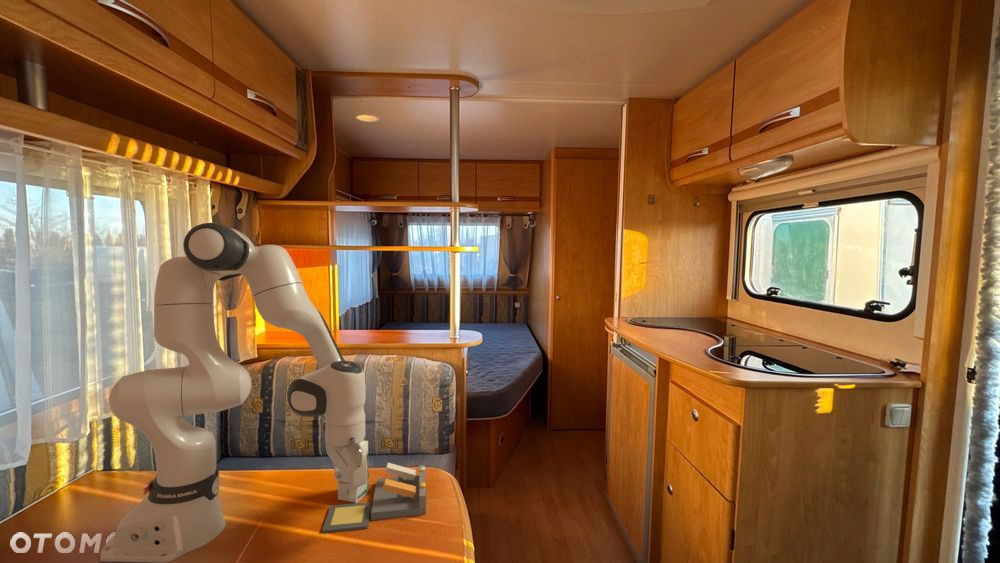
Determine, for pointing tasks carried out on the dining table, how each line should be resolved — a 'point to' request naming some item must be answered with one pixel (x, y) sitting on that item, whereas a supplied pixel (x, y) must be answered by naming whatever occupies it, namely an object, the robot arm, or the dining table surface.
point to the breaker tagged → (399, 488)
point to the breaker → (400, 471)
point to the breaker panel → (399, 499)
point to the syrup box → (361, 489)
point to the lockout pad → (347, 517)
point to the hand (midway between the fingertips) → (345, 487)
